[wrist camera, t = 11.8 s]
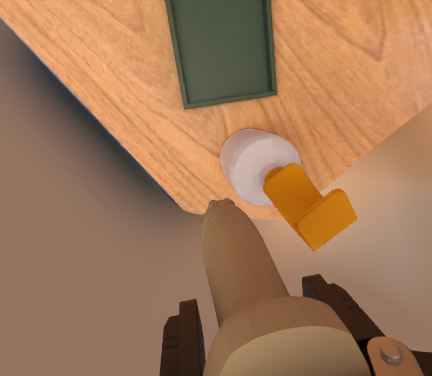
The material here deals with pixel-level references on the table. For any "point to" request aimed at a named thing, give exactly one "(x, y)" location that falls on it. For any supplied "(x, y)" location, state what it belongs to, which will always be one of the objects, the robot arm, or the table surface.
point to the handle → (266, 310)
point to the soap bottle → (283, 185)
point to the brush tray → (222, 50)
